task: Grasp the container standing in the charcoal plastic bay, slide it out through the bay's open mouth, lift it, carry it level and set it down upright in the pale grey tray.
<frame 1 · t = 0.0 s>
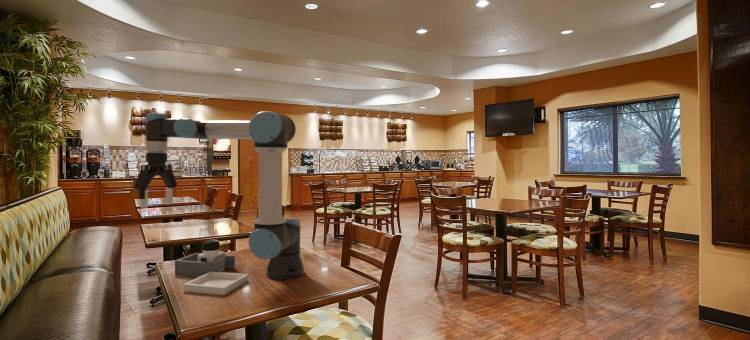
hand: (157, 205, 158), 28 cm above the table, fingers open, 13 cm apart
bay: (211, 271, 164), on the table
container: (211, 272, 164), resting in bay
tray: (217, 286, 146), on the table
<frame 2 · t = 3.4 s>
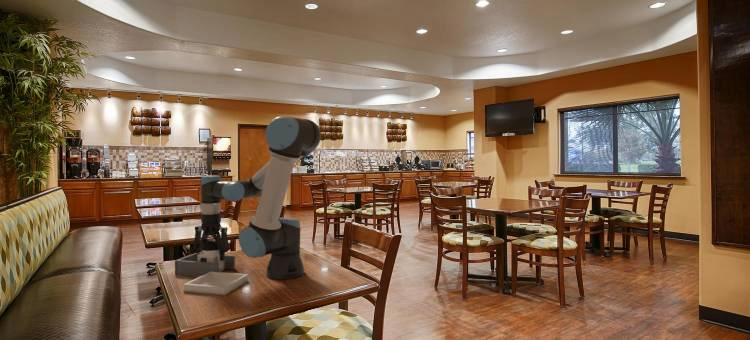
hand: (211, 267, 164), 2 cm above the table, fingers closed on container, 8 cm apart
container: (211, 272, 164), resting in bay, touching gripper
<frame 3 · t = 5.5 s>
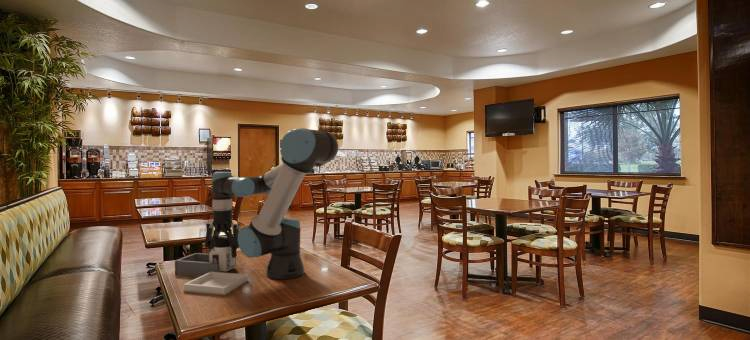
hand: (223, 264, 163), 3 cm above the table, fingers closed on container, 8 cm apart
container: (223, 269, 163), point 1 cm above the table, touching gripper
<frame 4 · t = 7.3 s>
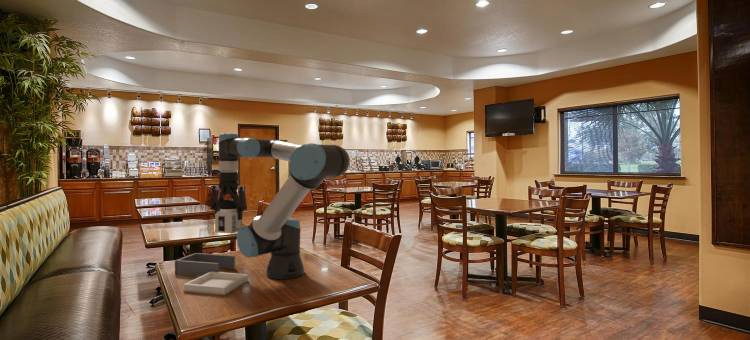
hand: (228, 227, 162), 19 cm above the table, fingers closed on container, 8 cm apart
container: (228, 231, 162), point 17 cm above the table, touching gripper
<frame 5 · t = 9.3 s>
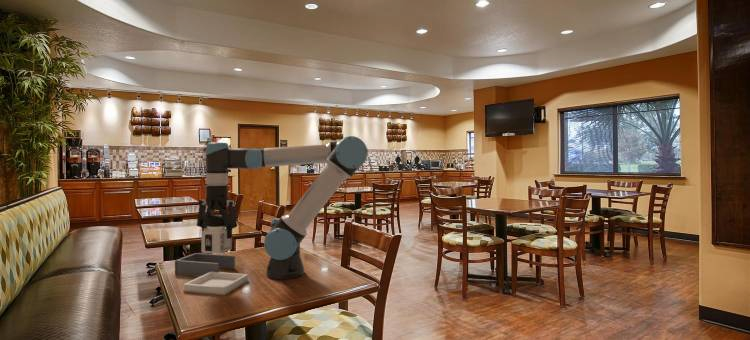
hand: (216, 246, 146), 15 cm above the table, fingers closed on container, 8 cm apart
container: (216, 251, 146), point 13 cm above the table, touching gripper
when the fingers open (4 cm above the table, at t = 11.3 s): container drops 1 cm, resting on tray.
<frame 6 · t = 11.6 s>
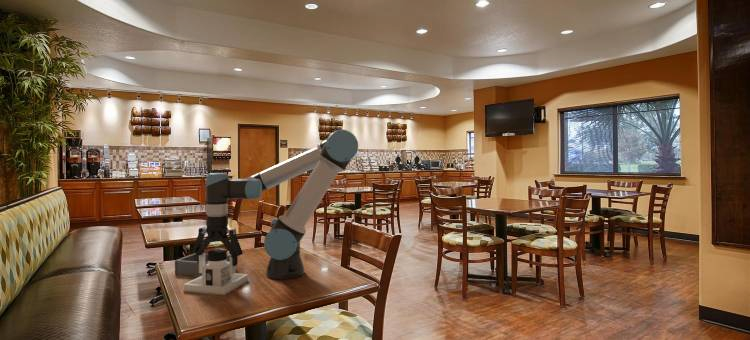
hand: (217, 273, 146), 5 cm above the table, fingers open, 12 cm apart
container: (217, 285, 146), resting on tray
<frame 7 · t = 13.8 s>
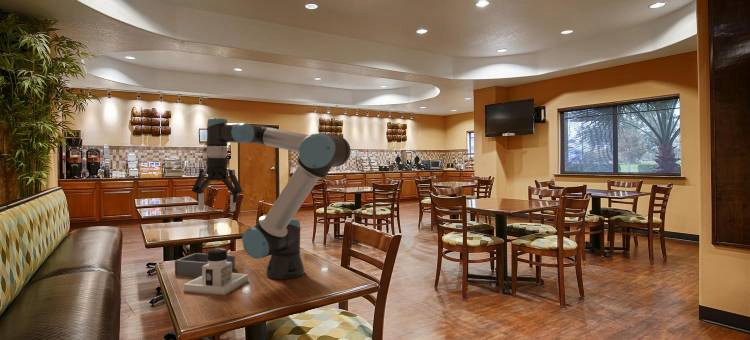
hand: (217, 210, 158), 26 cm above the table, fingers open, 13 cm apart
nothing on the table moved.
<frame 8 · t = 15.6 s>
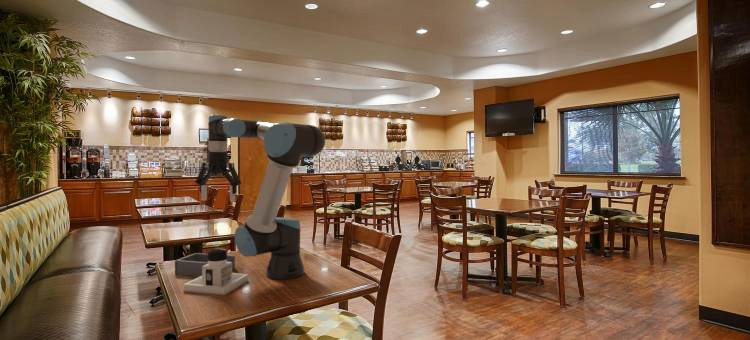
hand: (218, 201, 170), 29 cm above the table, fingers open, 13 cm apart
nothing on the table moved.
at the end: container inside the target area on the tray (0.1 cm from its centre), point 0.4 cm above the tray's base; container tilted 0°; the gripper is holding nothing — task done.
